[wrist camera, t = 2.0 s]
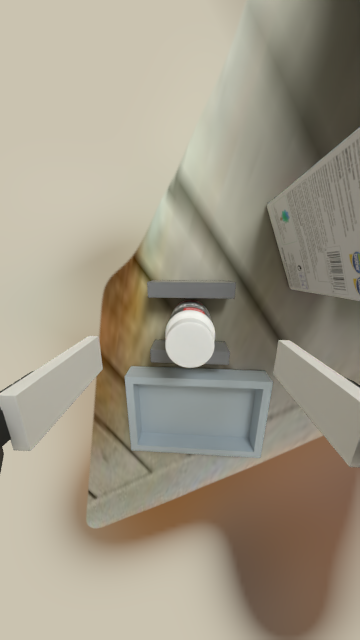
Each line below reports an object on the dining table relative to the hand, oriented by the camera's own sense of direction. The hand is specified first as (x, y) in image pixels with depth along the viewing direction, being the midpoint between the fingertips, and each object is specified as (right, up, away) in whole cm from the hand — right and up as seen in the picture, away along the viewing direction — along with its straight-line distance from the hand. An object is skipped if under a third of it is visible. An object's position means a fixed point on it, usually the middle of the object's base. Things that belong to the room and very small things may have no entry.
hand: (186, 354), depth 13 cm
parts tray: (+2, -10, +13) cm, 16 cm away
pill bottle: (+1, +3, +9) cm, 10 cm away
